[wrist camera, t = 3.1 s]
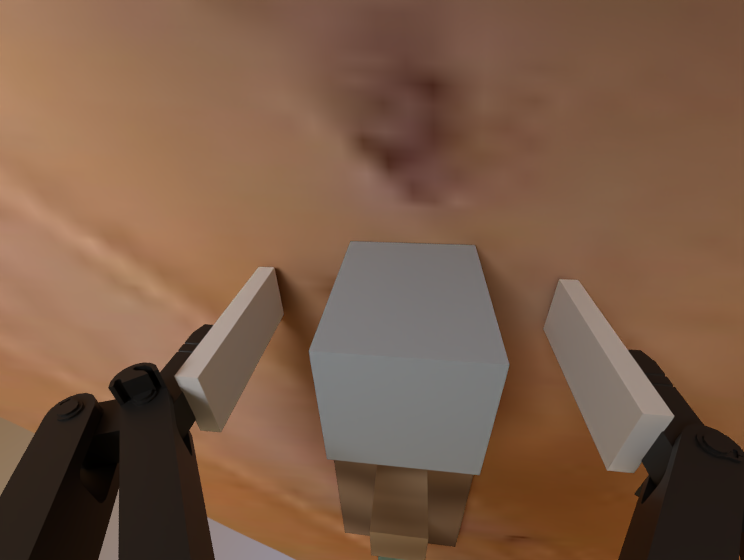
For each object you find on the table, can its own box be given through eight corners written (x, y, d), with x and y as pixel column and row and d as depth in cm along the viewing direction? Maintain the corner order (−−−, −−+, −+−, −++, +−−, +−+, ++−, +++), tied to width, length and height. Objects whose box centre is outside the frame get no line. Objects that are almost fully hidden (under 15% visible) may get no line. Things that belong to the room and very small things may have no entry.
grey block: (350, 240, 15) (308, 351, 9) (475, 245, 14) (509, 365, 9) (356, 333, 18) (326, 458, 12) (460, 339, 17) (479, 475, 12)
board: (326, 376, 20) (323, 387, 19) (489, 388, 19) (491, 401, 18) (346, 521, 29) (344, 532, 29) (454, 535, 28) (455, 546, 28)
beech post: (381, 423, 20) (369, 531, 15) (426, 426, 20) (428, 538, 15) (381, 448, 21) (371, 555, 17) (423, 452, 21) (424, 562, 17)
